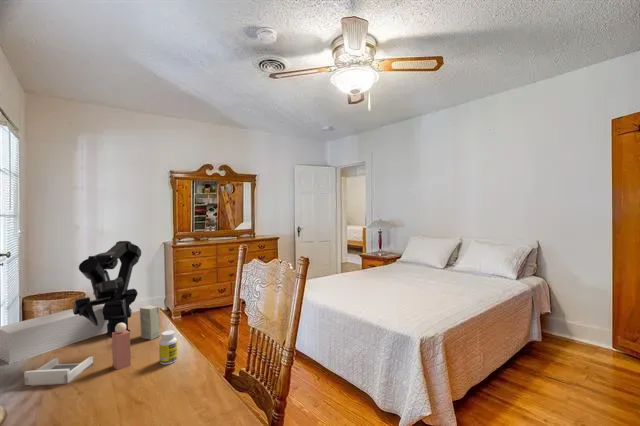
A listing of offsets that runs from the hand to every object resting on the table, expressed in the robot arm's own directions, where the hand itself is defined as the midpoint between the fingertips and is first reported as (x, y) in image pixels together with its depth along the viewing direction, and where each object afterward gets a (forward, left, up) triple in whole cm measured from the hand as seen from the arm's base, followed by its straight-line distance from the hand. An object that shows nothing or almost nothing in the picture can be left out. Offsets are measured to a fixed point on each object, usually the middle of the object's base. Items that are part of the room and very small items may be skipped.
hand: (112, 321), depth 110 cm
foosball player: (+1, +7, -13) cm, 15 cm away
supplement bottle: (-8, +18, -13) cm, 24 cm away
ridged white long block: (+3, -33, -13) cm, 36 cm away
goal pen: (+14, -4, -13) cm, 19 cm away
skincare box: (-17, -7, -13) cm, 23 cm away
